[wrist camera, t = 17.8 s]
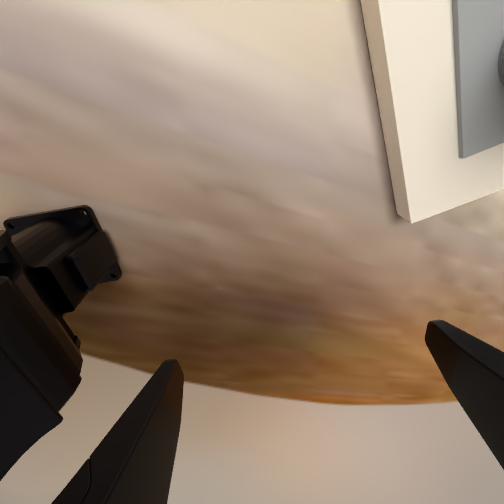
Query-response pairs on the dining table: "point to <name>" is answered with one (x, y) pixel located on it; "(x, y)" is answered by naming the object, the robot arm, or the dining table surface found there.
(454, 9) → the white flat square slab
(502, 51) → the metal cylinder
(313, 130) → the dining table surface
